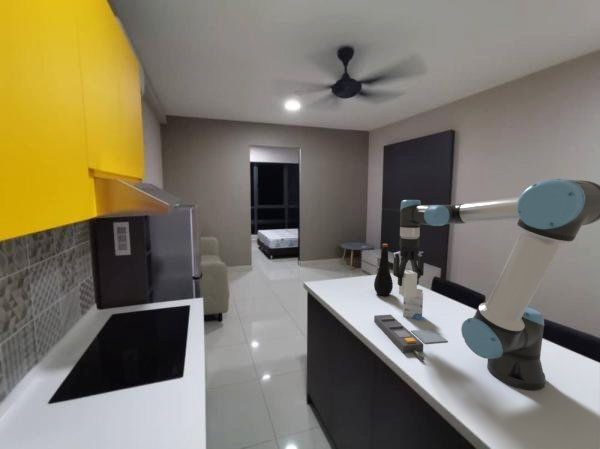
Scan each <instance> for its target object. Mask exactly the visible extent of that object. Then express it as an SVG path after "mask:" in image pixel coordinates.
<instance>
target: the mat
mask: <svg viewBox="0 0 600 449" xmlns="http://www.w3.org/2000/svg"><path fill="white" fill-rule="evenodd" d="M410 332H411V333H412V334H413V335H414V336H415V337H416V338H417V339H418V340H420V341H421V342H422V343H423V344H425V345H427V344H435V343H436V344H439V343H448V340H447V339H446V338H445V337H444V336H442V335H441V334H440V333H438V332H437V331H436V330H434V329H433V328H427V329H415V330H413V329H412V330H410Z"/></svg>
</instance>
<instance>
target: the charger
mask: <svg viewBox="0 0 600 449" xmlns="http://www.w3.org/2000/svg"><path fill="white" fill-rule="evenodd" d="M403 278H404V279H405V280H404V294H401V293H400V292H399V291H398V294H399V295H400V296H402V297H403V298H404V297H405V298H411V297H417V289H418V285H417V273H416V272H413V270H411V269H409V270H408V269H407V270H406V269H405V271H404V275H403Z"/></svg>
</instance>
